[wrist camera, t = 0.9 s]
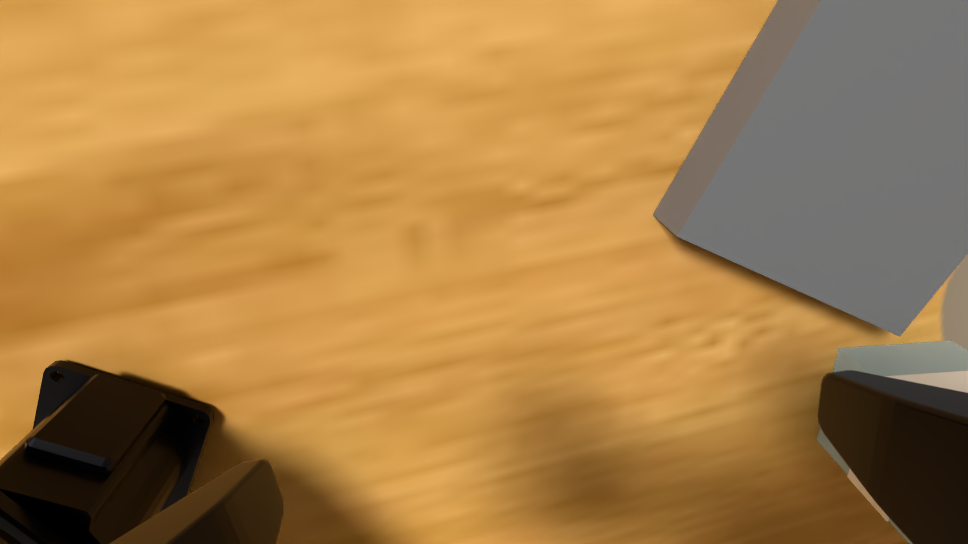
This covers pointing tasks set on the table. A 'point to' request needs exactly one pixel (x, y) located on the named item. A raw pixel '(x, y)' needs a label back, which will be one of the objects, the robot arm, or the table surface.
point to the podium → (839, 156)
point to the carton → (904, 362)
